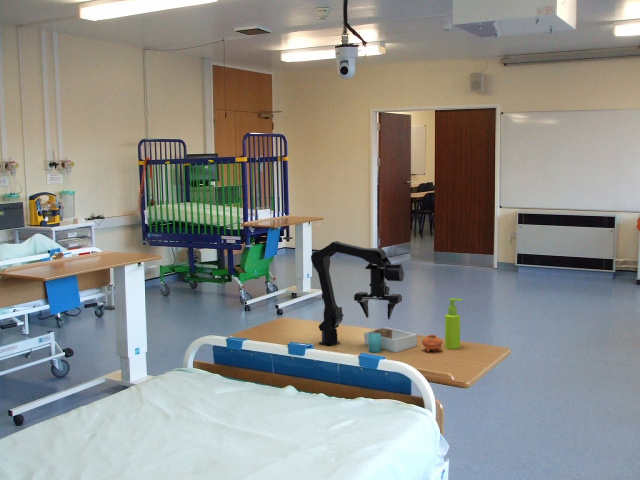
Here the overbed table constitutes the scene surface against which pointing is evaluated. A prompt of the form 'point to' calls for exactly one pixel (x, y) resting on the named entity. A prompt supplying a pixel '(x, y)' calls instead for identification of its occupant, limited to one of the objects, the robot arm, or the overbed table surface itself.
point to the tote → (395, 340)
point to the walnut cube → (384, 332)
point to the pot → (432, 342)
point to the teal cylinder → (374, 342)
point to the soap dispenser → (452, 326)
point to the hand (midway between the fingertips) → (378, 318)
